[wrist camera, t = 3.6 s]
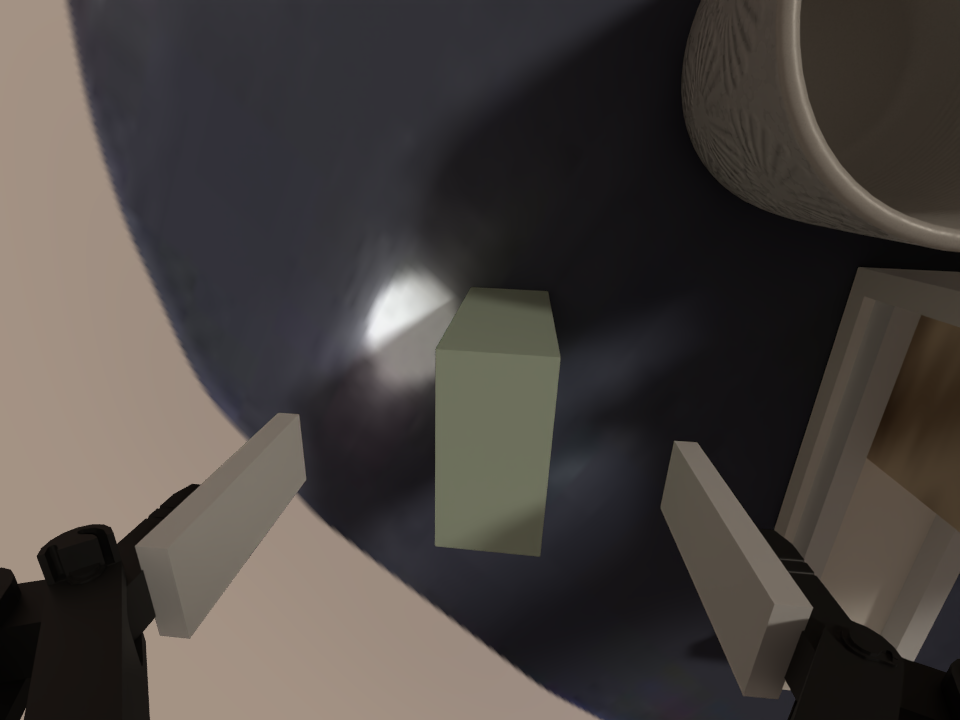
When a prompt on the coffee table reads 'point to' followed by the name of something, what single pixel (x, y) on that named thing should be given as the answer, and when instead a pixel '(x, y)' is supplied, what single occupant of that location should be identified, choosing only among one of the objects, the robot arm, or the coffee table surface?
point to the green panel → (495, 421)
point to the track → (872, 469)
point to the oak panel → (925, 421)
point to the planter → (832, 111)
